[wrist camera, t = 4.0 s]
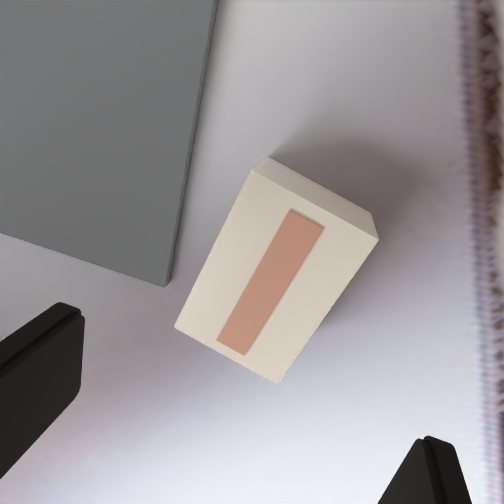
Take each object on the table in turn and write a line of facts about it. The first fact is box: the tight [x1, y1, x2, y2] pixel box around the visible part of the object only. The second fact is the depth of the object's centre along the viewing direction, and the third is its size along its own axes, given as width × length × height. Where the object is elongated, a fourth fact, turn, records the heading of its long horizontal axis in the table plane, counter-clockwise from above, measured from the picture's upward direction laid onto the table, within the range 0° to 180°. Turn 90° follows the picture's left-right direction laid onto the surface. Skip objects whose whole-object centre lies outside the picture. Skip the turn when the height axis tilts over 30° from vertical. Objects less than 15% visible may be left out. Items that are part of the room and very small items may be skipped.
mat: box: [0, 0, 218, 287], centre depth 20 cm, size 20×16×1 cm
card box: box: [174, 157, 379, 384], centre depth 19 cm, size 9×6×5 cm, turn 154°
